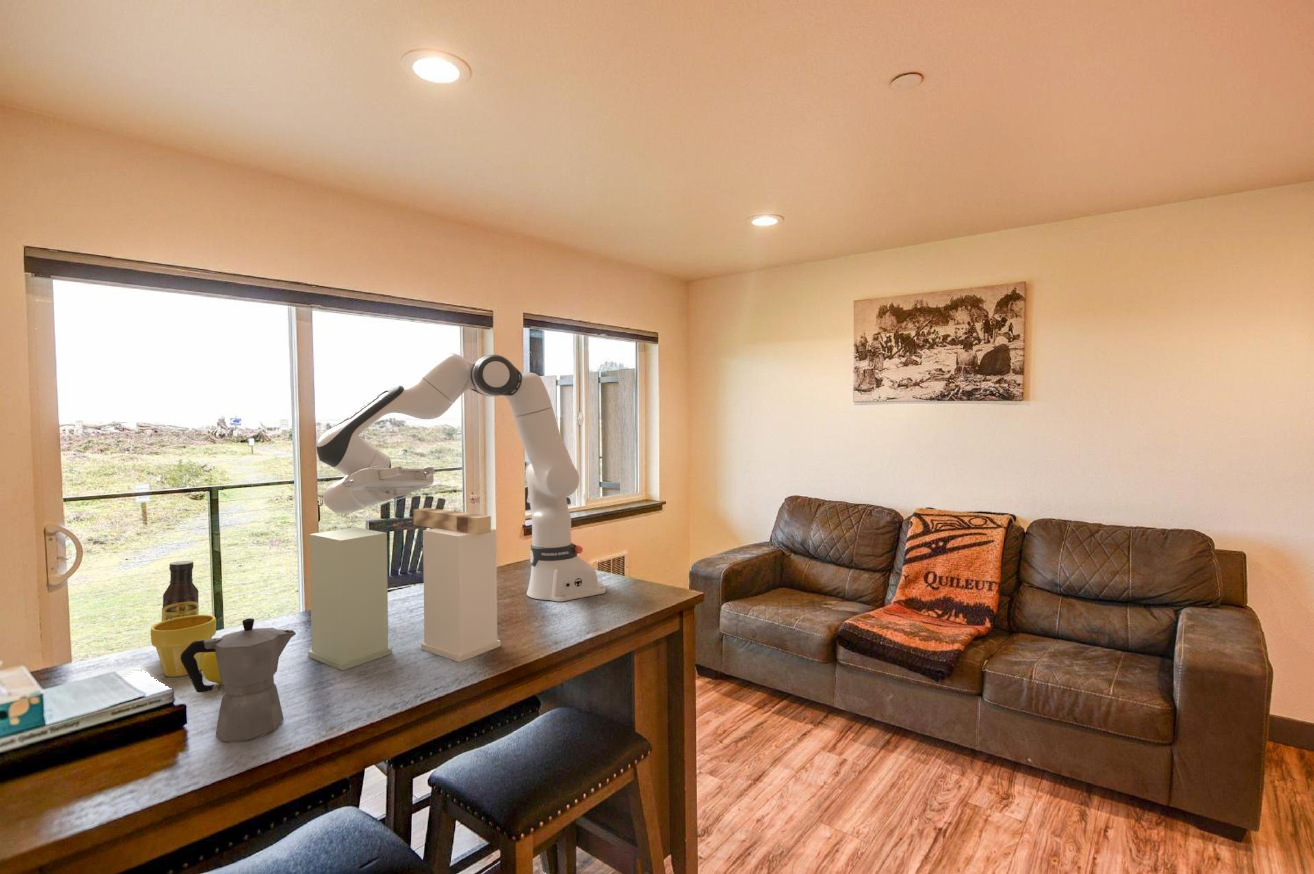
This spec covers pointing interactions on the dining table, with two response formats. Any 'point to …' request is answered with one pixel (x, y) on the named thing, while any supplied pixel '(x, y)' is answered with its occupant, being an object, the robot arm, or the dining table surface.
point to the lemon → (211, 668)
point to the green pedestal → (349, 597)
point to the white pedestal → (459, 593)
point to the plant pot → (181, 640)
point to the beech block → (453, 520)
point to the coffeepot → (243, 679)
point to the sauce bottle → (180, 592)
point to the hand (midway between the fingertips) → (416, 470)
